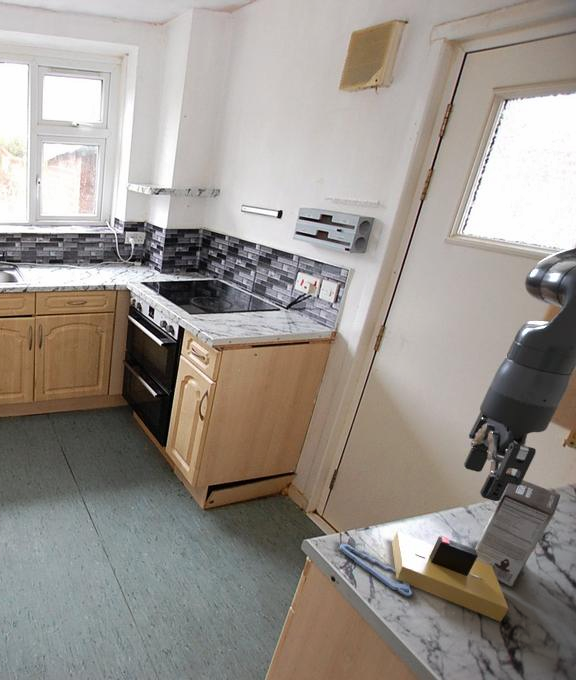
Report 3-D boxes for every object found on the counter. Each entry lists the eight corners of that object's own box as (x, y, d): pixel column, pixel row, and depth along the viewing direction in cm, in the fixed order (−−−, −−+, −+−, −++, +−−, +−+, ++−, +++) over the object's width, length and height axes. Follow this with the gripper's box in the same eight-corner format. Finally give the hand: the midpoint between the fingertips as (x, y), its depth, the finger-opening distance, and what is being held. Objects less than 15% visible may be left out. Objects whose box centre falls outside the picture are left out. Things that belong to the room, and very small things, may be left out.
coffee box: (477, 542, 89) (512, 474, 84) (521, 564, 85) (561, 493, 79) (466, 564, 84) (503, 493, 78) (513, 589, 79) (555, 515, 73)
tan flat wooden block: (485, 578, 81) (492, 565, 80) (500, 622, 72) (509, 607, 71) (391, 543, 87) (397, 530, 86) (396, 579, 79) (402, 565, 78)
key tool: (348, 542, 87) (334, 549, 85) (350, 538, 87) (336, 545, 84) (418, 591, 78) (405, 600, 75) (420, 586, 78) (407, 596, 75)
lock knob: (465, 569, 78) (476, 547, 77) (467, 576, 77) (478, 554, 75) (429, 555, 81) (439, 534, 79) (431, 562, 79) (441, 541, 77)
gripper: (583, 420, 60) (528, 519, 65) (537, 382, 72) (494, 468, 77) (509, 404, 63) (463, 499, 68) (477, 369, 75) (440, 453, 80)
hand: (479, 482), depth 73 cm, fingers open, 8 cm apart
